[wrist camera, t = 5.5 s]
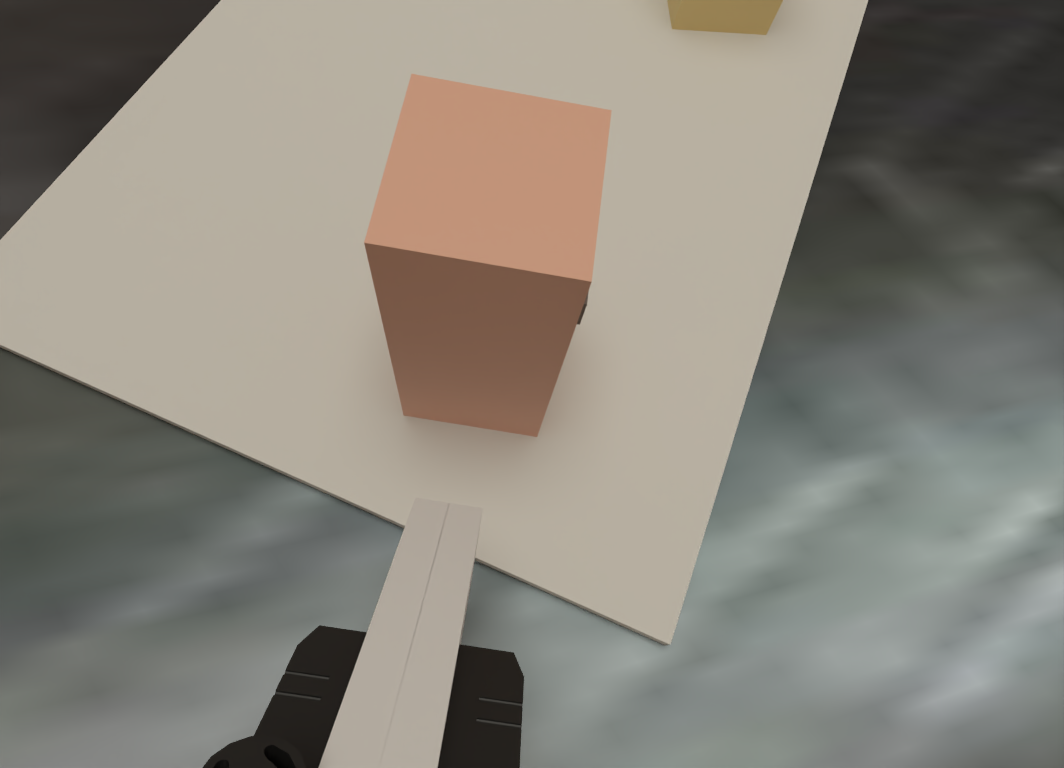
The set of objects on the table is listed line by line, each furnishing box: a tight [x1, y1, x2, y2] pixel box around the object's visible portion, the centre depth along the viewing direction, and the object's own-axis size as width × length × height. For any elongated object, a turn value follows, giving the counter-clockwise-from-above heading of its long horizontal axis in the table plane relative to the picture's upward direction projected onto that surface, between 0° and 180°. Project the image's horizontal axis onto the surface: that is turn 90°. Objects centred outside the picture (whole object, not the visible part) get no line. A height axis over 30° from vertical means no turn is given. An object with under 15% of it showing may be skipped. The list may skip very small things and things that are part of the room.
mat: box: [0, 0, 868, 645], centre depth 28 cm, size 36×26×1 cm
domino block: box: [364, 74, 612, 437], centre depth 18 cm, size 4×5×10 cm
